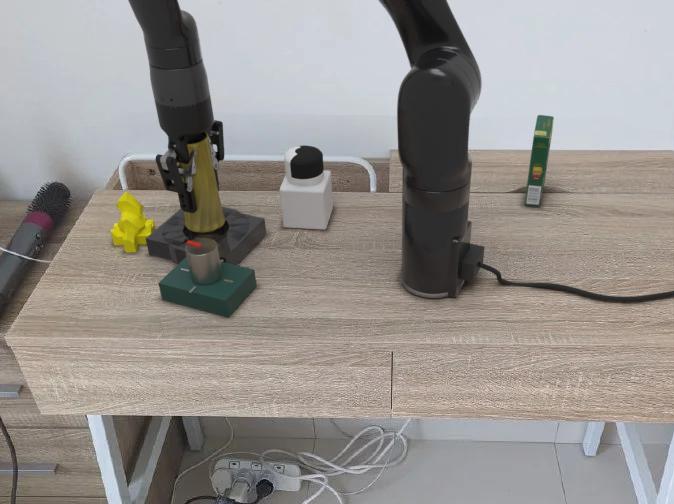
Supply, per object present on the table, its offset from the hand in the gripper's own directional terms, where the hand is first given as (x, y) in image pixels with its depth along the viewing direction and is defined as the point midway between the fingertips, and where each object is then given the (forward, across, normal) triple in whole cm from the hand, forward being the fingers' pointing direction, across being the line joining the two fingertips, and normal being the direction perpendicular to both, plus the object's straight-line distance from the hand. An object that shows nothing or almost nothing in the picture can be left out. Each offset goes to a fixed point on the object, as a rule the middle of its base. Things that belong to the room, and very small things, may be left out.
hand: (201, 200), depth 118 cm
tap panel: (+8, -11, -7) cm, 15 cm away
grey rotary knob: (+5, -11, -7) cm, 14 cm away
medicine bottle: (+8, +13, -11) cm, 19 cm away
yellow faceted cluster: (+8, -3, +12) cm, 15 cm away
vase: (+4, 0, 0) cm, 4 cm away
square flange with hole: (+8, 0, 0) cm, 8 cm away
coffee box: (+8, +34, -44) cm, 56 cm away
